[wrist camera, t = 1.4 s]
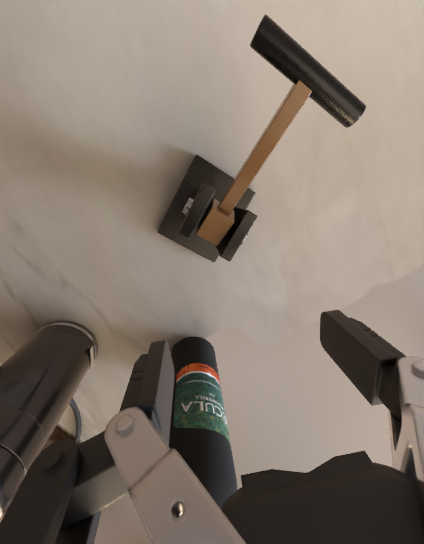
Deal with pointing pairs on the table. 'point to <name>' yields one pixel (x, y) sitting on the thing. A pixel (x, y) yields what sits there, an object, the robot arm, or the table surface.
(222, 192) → the bracket
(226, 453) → the wine bottle
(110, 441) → the robot arm
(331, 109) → the lever
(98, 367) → the table surface
